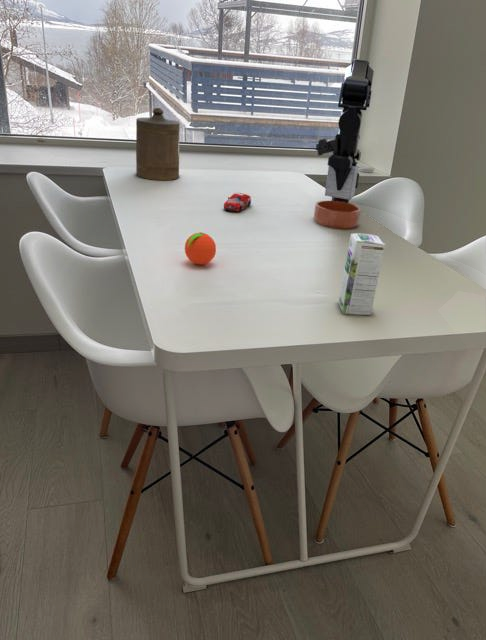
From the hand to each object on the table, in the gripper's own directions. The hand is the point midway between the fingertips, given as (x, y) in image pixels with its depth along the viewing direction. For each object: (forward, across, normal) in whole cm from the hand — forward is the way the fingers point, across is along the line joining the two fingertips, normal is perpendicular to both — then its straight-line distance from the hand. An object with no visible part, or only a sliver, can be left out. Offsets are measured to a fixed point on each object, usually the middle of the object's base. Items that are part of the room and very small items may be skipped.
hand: (340, 188), depth 168 cm
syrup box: (+10, +64, +17) cm, 67 cm away
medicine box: (+2, 0, 0) cm, 2 cm away
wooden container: (+10, -23, -69) cm, 74 cm away
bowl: (+10, 0, 0) cm, 10 cm away
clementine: (+10, +56, -20) cm, 61 cm away
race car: (+10, +2, -30) cm, 32 cm away
